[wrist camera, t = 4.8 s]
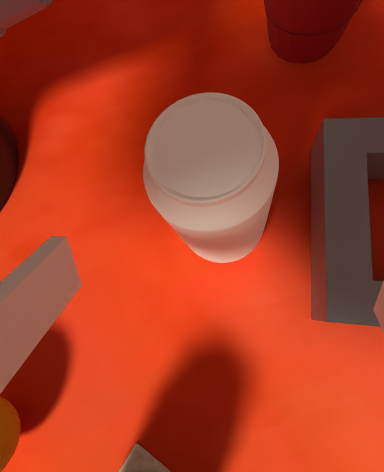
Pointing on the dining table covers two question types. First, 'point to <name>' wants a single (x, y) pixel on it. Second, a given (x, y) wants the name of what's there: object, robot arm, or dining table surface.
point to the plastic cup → (307, 26)
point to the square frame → (344, 219)
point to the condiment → (142, 462)
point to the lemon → (8, 431)
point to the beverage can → (212, 174)
